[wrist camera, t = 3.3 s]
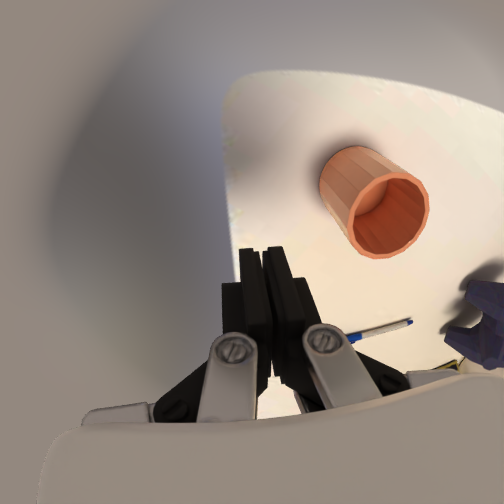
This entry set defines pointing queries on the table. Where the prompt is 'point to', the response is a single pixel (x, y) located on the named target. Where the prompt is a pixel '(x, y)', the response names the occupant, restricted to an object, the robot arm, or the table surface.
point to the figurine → (482, 326)
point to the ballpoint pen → (378, 331)
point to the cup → (374, 201)
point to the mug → (478, 368)
